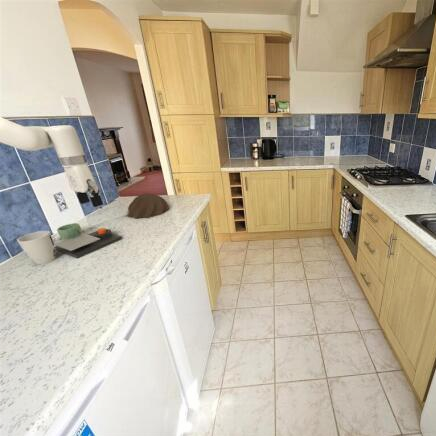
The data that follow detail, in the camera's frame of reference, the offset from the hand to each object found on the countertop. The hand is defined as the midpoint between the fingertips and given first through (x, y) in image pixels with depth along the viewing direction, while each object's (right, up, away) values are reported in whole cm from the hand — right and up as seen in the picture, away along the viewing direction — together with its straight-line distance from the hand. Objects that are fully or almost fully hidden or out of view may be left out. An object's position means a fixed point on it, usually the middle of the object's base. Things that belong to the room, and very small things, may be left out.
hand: (91, 204), depth 97 cm
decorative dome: (+3, -2, +34) cm, 34 cm away
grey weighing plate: (-3, -15, -3) cm, 15 cm away
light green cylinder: (-14, -14, +7) cm, 21 cm away
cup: (-9, -21, -9) cm, 25 cm away
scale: (-2, -16, +2) cm, 16 cm away
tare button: (0, -12, +5) cm, 13 cm away
